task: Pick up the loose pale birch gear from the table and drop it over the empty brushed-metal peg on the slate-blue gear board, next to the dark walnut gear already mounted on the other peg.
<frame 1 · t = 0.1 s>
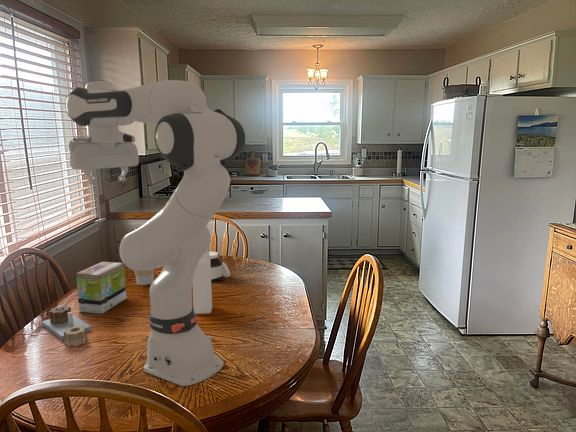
hand: (107, 182, 129), 48 cm above the table, fingers open, 8 cm apart
tea box: (104, 305, 156), on the table
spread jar: (215, 278, 184), on the table
milk: (203, 310, 151), on the table
birch gear: (76, 341, 128), on the table
gear board: (66, 328, 137), on the table
walnut gear: (61, 320, 140), resting on gear board
coffee cup: (145, 282, 179), on the table
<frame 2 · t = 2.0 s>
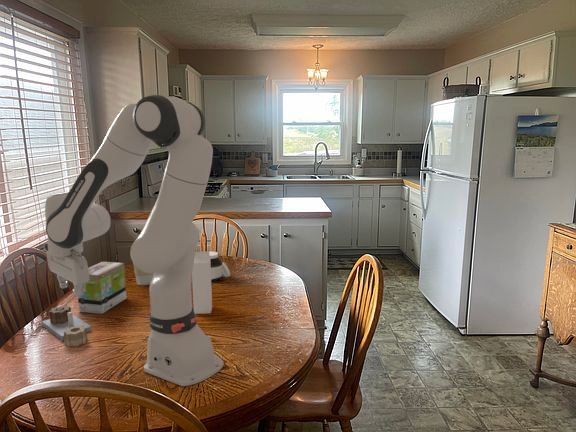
hand: (70, 291, 125), 16 cm above the table, fingers open, 8 cm apart
nothing on the table moved.
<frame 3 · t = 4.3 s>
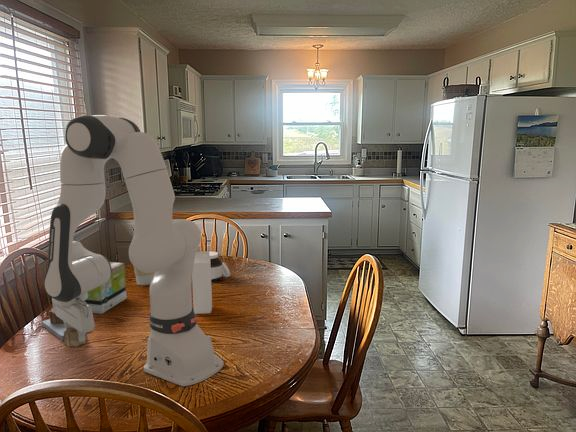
hand: (75, 337, 128), 2 cm above the table, fingers closed on birch gear, 6 cm apart
birch gear: (76, 341, 128), on the table, touching gripper
everything else where it was.
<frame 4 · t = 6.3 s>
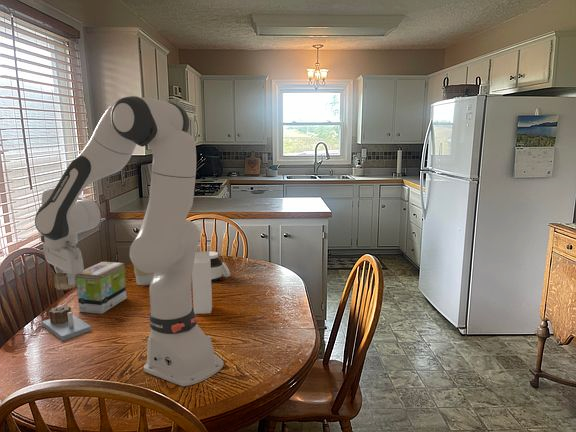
hand: (65, 281, 132), 17 cm above the table, fingers closed on birch gear, 6 cm apart
birch gear: (66, 286, 132), point 15 cm above the table, touching gripper
everything else where it was.
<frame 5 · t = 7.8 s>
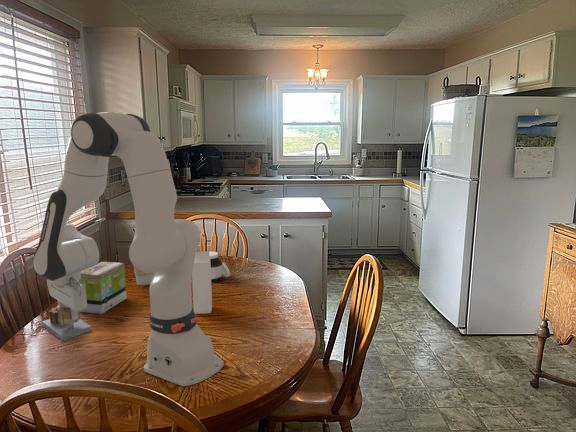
hand: (69, 315, 134), 5 cm above the table, fingers closed on birch gear, 6 cm apart
birch gear: (69, 320, 134), point 4 cm above the table, touching gripper
everything else where it was.
when the fingers open (5 cm above the table, at t = 8.9 s): birch gear drops 1 cm, resting on gear board.
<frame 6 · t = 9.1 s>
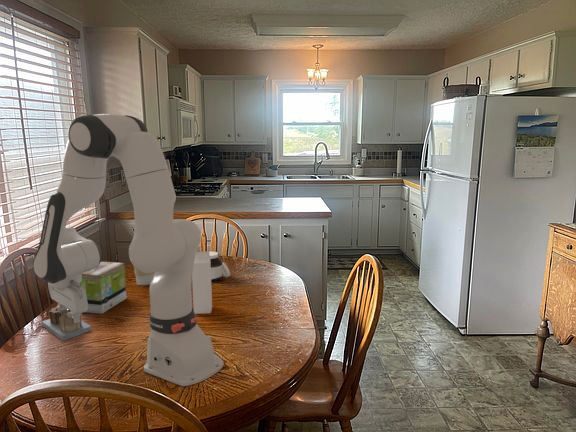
hand: (70, 318, 134), 5 cm above the table, fingers open, 7 cm apart
birch gear: (71, 327, 134), point 1 cm above the table, touching gear board
everything else where it was.
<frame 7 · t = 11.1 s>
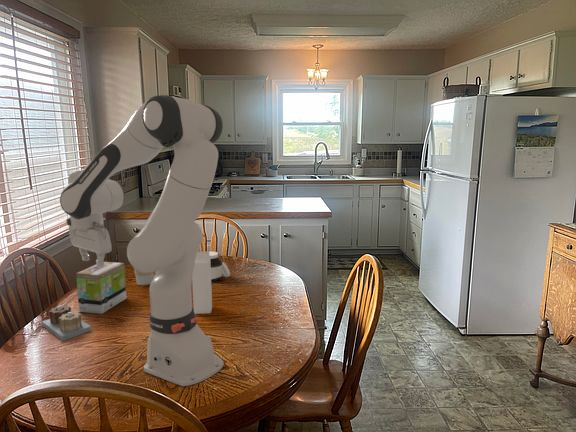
hand: (93, 263, 134), 22 cm above the table, fingers open, 8 cm apart
nothing on the table moved.
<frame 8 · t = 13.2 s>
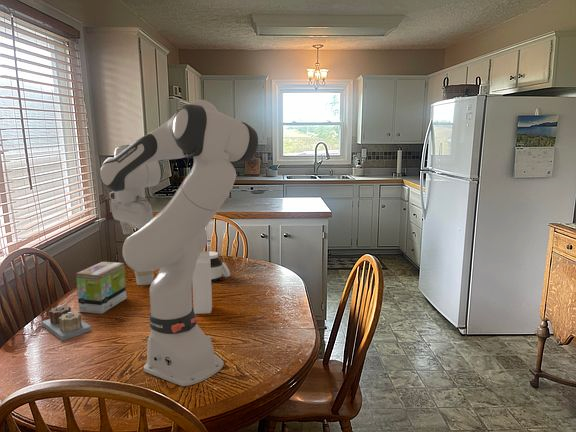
hand: (133, 236, 140), 29 cm above the table, fingers open, 8 cm apart
nothing on the table moved.
at the end: birch gear 0.1 cm from the target spot on the gear board, point 1.5 cm above the gear board's base; the gripper is holding nothing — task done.
